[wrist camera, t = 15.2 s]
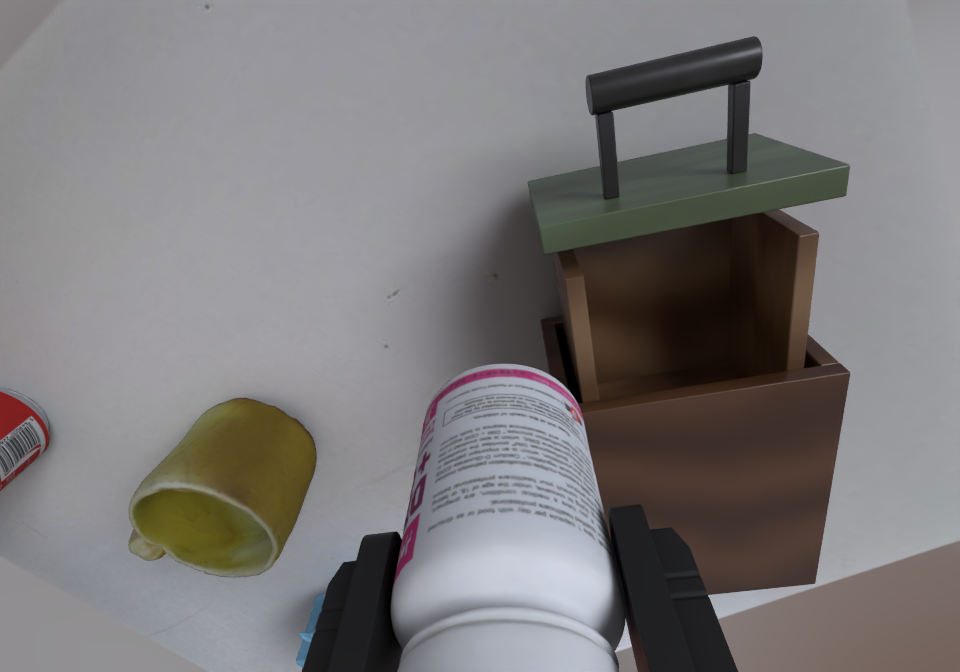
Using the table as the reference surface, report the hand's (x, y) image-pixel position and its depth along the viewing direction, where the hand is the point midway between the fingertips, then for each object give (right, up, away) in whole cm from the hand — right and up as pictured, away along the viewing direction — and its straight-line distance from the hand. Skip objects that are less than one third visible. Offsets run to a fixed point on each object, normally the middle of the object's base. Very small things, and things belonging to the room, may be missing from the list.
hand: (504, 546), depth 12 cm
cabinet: (+11, +1, +23) cm, 25 cm away
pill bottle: (0, +2, +4) cm, 5 cm away
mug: (-18, -4, +26) cm, 32 cm away
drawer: (+8, +10, +16) cm, 21 cm away
